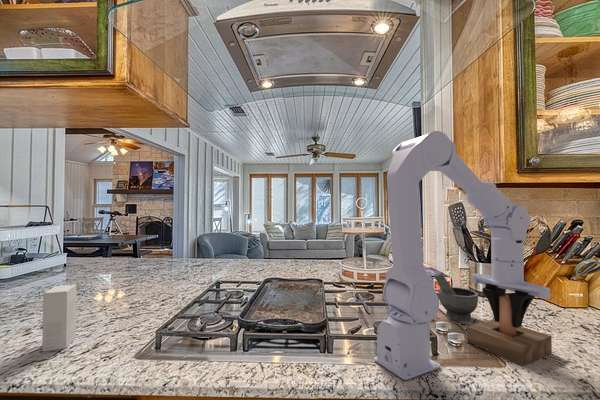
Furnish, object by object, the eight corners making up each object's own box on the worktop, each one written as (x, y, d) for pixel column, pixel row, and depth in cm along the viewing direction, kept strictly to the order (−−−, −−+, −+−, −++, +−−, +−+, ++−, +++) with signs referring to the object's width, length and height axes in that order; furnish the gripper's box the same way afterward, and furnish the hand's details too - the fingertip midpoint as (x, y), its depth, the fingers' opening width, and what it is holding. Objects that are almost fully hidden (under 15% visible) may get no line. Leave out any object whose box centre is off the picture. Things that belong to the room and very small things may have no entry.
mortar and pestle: (472, 312, 86) (472, 270, 86) (484, 325, 77) (484, 277, 77) (430, 309, 88) (430, 268, 89) (437, 320, 79) (436, 275, 80)
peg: (511, 343, 62) (510, 300, 62) (496, 338, 65) (495, 296, 65) (519, 341, 64) (519, 298, 64) (504, 335, 66) (504, 294, 66)
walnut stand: (523, 366, 57) (522, 347, 57) (467, 342, 66) (467, 326, 67) (551, 353, 62) (551, 336, 62) (496, 333, 72) (495, 318, 72)
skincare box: (53, 340, 66) (54, 285, 67) (76, 337, 68) (77, 284, 68) (40, 352, 61) (42, 293, 61) (66, 349, 62) (67, 291, 63)
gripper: (557, 264, 60) (558, 332, 60) (484, 254, 73) (484, 310, 73) (539, 267, 57) (540, 339, 56) (466, 256, 70) (466, 315, 69)
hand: (507, 323), depth 64 cm, fingers closed on peg, 3 cm apart
